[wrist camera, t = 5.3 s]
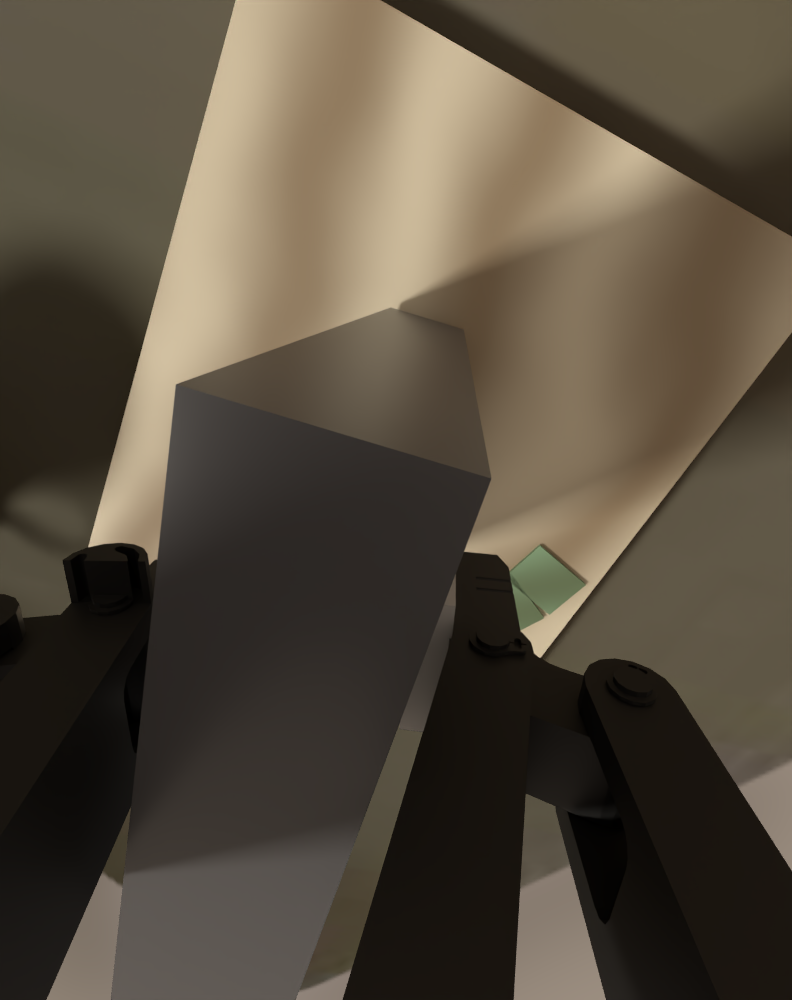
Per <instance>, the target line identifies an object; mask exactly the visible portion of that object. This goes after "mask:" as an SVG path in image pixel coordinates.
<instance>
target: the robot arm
mask: <svg viewBox="0 0 792 1000" xmlns="http://www.w3.org/2000/svg"><path fill="white" fill-rule="evenodd" d="M63 565H64V570H65V574H66V579H67V584H68V588H69V593H70V598H71V602H72V603H71V604H70V605H69V606H68V607H67V608H66V610H65V611H64V612H63V613H62V614H61V615H53V616H42V617H30V618H23V617H22V613H21V609H20V605H19V603H18V602H17V600H16V598H14V597H11V596H8V595H5V594H0V1000H46V999H47V997H48V995H49V992H50V990H51V988H52V986H53V983H54V981H55V979H56V976H57V974H58V972H59V969H60V967H61V965H62V963H63V960H64V958H65V956H66V953H67V951H68V949H69V947H70V944H71V942H72V940H73V937H74V935H75V933H76V930H77V928H78V926H79V924H80V921H81V919H82V917H83V915H84V912H85V910H86V907H87V905H88V903H89V901H90V899H91V896H92V894H93V892H94V889H95V887H96V885H97V883H98V880H99V878H100V876H101V873H102V871H103V869H104V867H105V864H106V862H107V860H108V857H109V855H110V853H111V851H112V848H113V846H114V844H115V841H116V839H117V837H118V835H119V832H120V830H121V828H122V825H123V823H124V821H125V819H126V816H127V814H128V812H129V809H130V807H131V804H132V794H133V785H134V775H135V766H136V756H137V747H138V738H139V728H140V719H141V709H142V700H143V690H144V681H145V671H146V662H147V652H148V643H149V634H150V624H151V615H152V605H153V596H154V586H155V577H156V567H157V560H156V559H155V560H154V561H153V562H152V563H151V564H150V565H149V560H148V554H147V552H146V551H145V549H144V548H142V547H140V546H137V545H135V544H128V543H109V544H101V545H97V546H92V547H88V548H85V549H83V550H80V551H77V552H75V553H73V554H71V555H70V556H68V557H67V558H65V559H64V560H63ZM400 729H403V730H411V731H419V732H423V734H422V737H421V741H420V744H419V747H418V751H417V754H416V757H415V761H414V764H413V767H412V771H411V774H410V777H409V781H408V784H407V787H406V791H405V794H404V797H403V801H402V804H401V807H400V811H399V814H398V817H397V821H396V824H395V827H394V831H393V834H392V837H391V841H390V844H389V847H388V851H387V854H386V857H385V860H384V864H383V867H382V870H381V874H380V877H379V880H378V884H377V887H376V890H375V894H374V897H373V900H372V904H371V907H370V910H369V914H368V917H367V920H366V924H365V927H364V930H363V934H362V937H361V940H360V944H359V947H358V950H357V954H356V957H355V960H354V964H353V967H352V970H351V974H350V977H349V981H348V984H347V987H346V990H345V994H344V997H343V1000H513V999H514V982H515V965H516V948H517V947H516V946H517V930H518V913H519V896H520V880H521V863H522V846H523V829H524V812H525V795H526V794H528V795H531V796H533V797H535V798H538V799H540V800H542V801H545V802H547V803H549V804H552V805H554V806H556V814H557V817H558V821H559V825H560V829H561V832H562V836H563V840H564V844H565V847H566V851H567V855H568V859H569V862H570V866H571V870H572V873H573V877H574V880H575V885H576V889H577V892H578V896H579V900H580V904H581V907H582V911H583V915H584V918H585V922H586V926H587V930H588V934H589V937H590V941H591V945H592V949H593V952H594V956H595V960H596V964H597V967H598V971H599V975H600V979H601V982H602V986H603V990H604V994H605V998H606V1000H792V871H791V869H790V868H789V866H788V864H787V863H786V861H785V860H784V858H783V857H782V855H781V853H780V852H779V850H778V849H777V847H776V846H775V844H774V843H773V841H772V840H771V838H770V836H769V835H768V833H767V832H766V830H765V829H764V827H763V825H762V824H761V822H760V821H759V819H758V818H757V816H756V815H755V813H754V811H753V810H752V808H751V807H750V805H749V804H748V802H747V801H746V799H745V797H744V796H743V794H742V793H741V791H740V790H739V788H738V786H737V785H736V783H735V782H734V780H733V779H732V777H731V776H730V774H729V772H728V771H727V769H726V768H725V766H724V765H723V763H722V762H721V760H720V758H719V757H718V755H717V754H716V752H715V751H714V749H713V748H712V746H711V744H710V743H709V741H708V740H707V738H706V737H705V735H704V734H703V732H702V730H701V729H700V727H699V726H698V724H697V723H696V721H695V720H694V718H693V716H692V715H691V713H690V712H689V710H688V709H687V707H686V705H685V704H684V702H683V701H682V699H681V698H680V696H679V695H678V693H677V691H676V690H675V689H674V688H673V687H672V686H671V685H670V684H669V683H668V681H667V680H666V679H665V678H663V677H662V676H660V675H659V674H657V673H656V672H654V671H653V670H651V669H649V668H647V667H644V666H642V665H639V664H637V663H634V662H631V661H626V660H620V659H602V660H598V661H596V662H594V663H592V664H590V665H589V666H588V668H587V670H586V671H585V673H584V676H583V675H580V674H577V673H574V672H571V671H568V670H565V669H562V668H559V667H557V666H554V665H552V664H549V663H548V662H546V661H544V660H543V659H541V658H539V657H538V656H537V655H535V654H534V651H533V647H532V643H531V642H530V640H529V639H528V638H527V637H526V636H525V635H524V634H523V633H522V632H521V630H520V625H519V620H518V614H517V609H516V604H515V598H514V594H513V588H512V583H511V577H510V572H509V567H508V566H507V565H506V564H505V563H504V562H503V561H502V559H501V558H500V557H499V556H498V555H494V554H483V553H473V552H464V553H463V556H462V559H461V561H460V564H459V566H458V569H457V572H456V574H455V577H454V580H453V582H452V585H451V588H450V590H449V593H448V596H447V598H446V601H445V604H444V606H443V609H442V612H441V614H440V617H439V620H438V622H437V625H436V628H435V630H434V633H433V636H432V638H431V641H430V644H429V646H428V649H427V652H426V654H425V657H424V660H423V662H422V665H421V668H420V670H419V673H418V676H417V678H416V681H415V683H414V686H413V689H412V691H411V694H410V697H409V699H408V702H407V705H406V707H405V710H404V713H403V715H402V718H401V721H400Z"/></svg>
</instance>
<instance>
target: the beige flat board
mask: <svg viewBox="0 0 792 1000" xmlns="http://www.w3.org/2000/svg"><path fill="white" fill-rule="evenodd" d="M388 308H394V309H398V310H401V311H404V312H408V313H411V314H414V315H418V316H421V317H424V318H427V319H431V320H434V321H437V322H441V323H444V324H447V325H451V326H454V327H457V328H461V329H464V334H465V339H466V345H467V350H468V355H469V361H470V366H471V371H472V377H473V382H474V387H475V393H476V398H477V403H478V409H479V414H480V420H481V425H482V430H483V436H484V441H485V446H486V452H487V457H488V462H489V468H490V473H491V478H492V479H491V481H490V484H489V487H488V489H487V492H486V495H485V497H484V500H483V503H482V505H481V508H480V511H479V513H478V516H477V519H476V521H475V524H474V527H473V529H472V532H471V535H470V537H469V540H468V543H467V545H466V548H465V551H464V552H473V553H483V554H494V555H498V556H499V557H500V558H501V559H502V561H503V562H504V563H505V564H506V565H507V566H508V567H509V572H510V577H511V583H512V588H513V594H514V598H515V604H516V609H517V614H518V620H519V625H520V630H521V632H522V633H523V634H524V635H525V636H526V637H527V638H528V639H529V640H530V642H531V643H532V647H533V651H534V654H535V655H537V656H538V657H539V658H541V657H542V655H543V654H544V653H545V651H546V650H547V649H548V647H549V646H550V645H551V644H552V642H553V641H554V640H555V638H556V637H557V636H558V635H559V633H560V632H561V631H562V629H563V628H564V627H565V625H566V624H567V623H568V622H569V620H570V619H571V618H572V616H573V615H574V614H575V612H576V611H577V610H578V609H579V607H580V606H581V605H582V603H583V602H584V601H585V600H586V598H587V597H588V596H589V594H590V593H591V592H592V590H593V589H594V588H595V587H596V585H597V584H598V583H599V581H600V580H601V579H602V578H603V576H604V575H605V574H606V572H607V571H608V570H609V568H610V567H611V566H612V565H613V563H614V562H615V561H616V559H617V558H618V557H619V555H620V554H621V553H622V552H623V550H624V549H625V548H626V546H627V545H628V544H629V543H630V541H631V540H632V539H633V537H634V536H635V535H636V533H637V532H638V531H639V530H640V528H641V527H642V526H643V524H644V523H645V522H646V521H647V519H648V518H649V517H650V515H651V514H652V513H653V511H654V510H655V509H656V508H657V506H658V505H659V504H660V502H661V501H662V500H663V499H664V497H665V496H666V495H667V493H668V492H669V491H670V489H671V488H672V487H673V486H674V484H675V483H676V482H677V480H678V479H679V478H680V476H681V475H682V474H683V473H684V471H685V470H686V469H687V467H688V466H689V465H690V464H691V462H692V461H693V460H694V458H695V457H696V456H697V454H698V453H699V452H700V451H701V449H702V448H703V447H704V445H705V444H706V443H707V442H708V440H709V439H710V438H711V436H712V435H713V434H714V432H715V431H716V430H717V429H718V427H719V426H720V425H721V423H722V422H723V421H724V419H725V418H726V417H727V416H728V414H729V413H730V412H731V410H732V409H733V408H734V407H735V405H736V404H737V403H738V401H739V400H740V399H741V397H742V396H743V395H744V394H745V392H746V391H747V390H748V388H749V387H750V386H751V385H752V383H753V382H754V381H755V379H756V378H757V377H758V375H759V374H760V373H761V372H762V370H763V369H764V368H765V366H766V365H767V364H768V363H769V361H770V360H771V359H772V357H773V356H774V355H775V353H776V352H777V351H778V350H779V348H780V347H781V346H782V344H783V343H784V342H785V340H786V339H787V338H788V337H789V335H790V334H791V333H792V237H791V236H790V235H788V234H786V233H784V232H783V231H781V230H779V229H777V228H776V227H774V226H772V225H770V224H769V223H767V222H765V221H763V220H762V219H760V218H758V217H757V216H755V215H753V214H751V213H750V212H748V211H746V210H744V209H743V208H741V207H739V206H737V205H736V204H734V203H732V202H730V201H729V200H727V199H725V198H723V197H722V196H720V195H718V194H717V193H715V192H713V191H711V190H710V189H708V188H706V187H704V186H703V185H701V184H699V183H697V182H696V181H694V180H692V179H690V178H689V177H687V176H685V175H683V174H682V173H680V172H678V171H677V170H675V169H673V168H671V167H670V166H668V165H666V164H664V163H663V162H661V161H659V160H657V159H656V158H654V157H652V156H650V155H649V154H647V153H645V152H643V151H642V150H640V149H638V148H637V147H635V146H633V145H631V144H630V143H628V142H626V141H624V140H623V139H621V138H619V137H617V136H616V135H614V134H612V133H610V132H609V131H607V130H605V129H603V128H602V127H600V126H598V125H597V124H595V123H593V122H591V121H590V120H588V119H586V118H584V117H583V116H581V115H579V114H577V113H576V112H574V111H572V110H570V109H569V108H567V107H565V106H563V105H562V104H560V103H558V102H557V101H555V100H553V99H551V98H550V97H548V96H546V95H544V94H543V93H541V92H539V91H537V90H536V89H534V88H532V87H530V86H529V85H527V84H525V83H523V82H522V81H520V80H518V79H517V78H515V77H513V76H511V75H510V74H508V73H506V72H504V71H503V70H501V69H499V68H497V67H496V66H494V65H492V64H490V63H489V62H487V61H485V60H483V59H482V58H480V57H478V56H477V55H475V54H473V53H471V52H470V51H468V50H466V49H464V48H463V47H461V46H459V45H457V44H456V43H454V42H452V41H450V40H449V39H447V38H445V37H443V36H442V35H440V34H438V33H437V32H435V31H433V30H431V29H430V28H428V27H426V26H424V25H423V24H421V23H419V22H417V21H416V20H414V19H412V18H410V17H409V16H407V15H405V14H403V13H402V12H400V11H398V10H397V9H395V8H393V7H391V6H390V5H388V4H386V3H384V2H383V1H381V0H236V2H235V5H234V9H233V13H232V17H231V20H230V24H229V28H228V31H227V35H226V39H225V43H224V46H223V50H222V54H221V57H220V61H219V65H218V68H217V72H216V76H215V80H214V83H213V87H212V91H211V94H210V98H209V102H208V106H207V109H206V113H205V117H204V120H203V124H202V128H201V131H200V135H199V139H198V143H197V146H196V150H195V154H194V157H193V161H192V165H191V169H190V172H189V176H188V180H187V183H186V187H185V191H184V194H183V198H182V202H181V206H180V209H179V213H178V217H177V220H176V224H175V228H174V231H173V235H172V239H171V243H170V246H169V250H168V254H167V257H166V261H165V265H164V269H163V272H162V276H161V280H160V283H159V287H158V291H157V294H156V298H155V302H154V306H153V309H152V313H151V317H150V320H149V324H148V328H147V332H146V335H145V339H144V343H143V346H142V350H141V354H140V357H139V361H138V365H137V369H136V372H135V376H134V380H133V383H132V387H131V391H130V395H129V398H128V402H127V406H126V409H125V413H124V417H123V420H122V424H121V428H120V432H119V435H118V439H117V443H116V446H115V450H114V454H113V458H112V461H111V465H110V469H109V472H108V476H107V480H106V483H105V487H104V491H103V495H102V498H101V502H100V506H99V509H98V513H97V517H96V521H95V524H94V528H93V532H92V535H91V539H90V543H89V546H88V547H92V546H97V545H101V544H109V543H128V544H135V545H137V546H140V547H142V548H144V549H145V551H146V552H147V554H148V560H149V565H150V564H151V563H152V562H153V561H154V560H155V559H156V560H157V558H158V548H159V539H160V530H161V520H162V511H163V501H164V492H165V482H166V473H167V463H168V454H169V444H170V435H171V425H172V416H173V407H174V397H175V388H176V384H178V383H181V382H184V381H186V380H189V379H192V378H195V377H198V376H200V375H203V374H206V373H209V372H212V371H214V370H217V369H220V368H223V367H226V366H228V365H231V364H234V363H237V362H240V361H242V360H245V359H248V358H251V357H254V356H256V355H259V354H262V353H265V352H268V351H270V350H273V349H276V348H279V347H281V346H284V345H287V344H290V343H293V342H295V341H298V340H301V339H304V338H307V337H309V336H312V335H315V334H318V333H321V332H323V331H326V330H329V329H332V328H335V327H337V326H340V325H343V324H346V323H349V322H351V321H354V320H357V319H360V318H363V317H365V316H368V315H371V314H374V313H377V312H379V311H382V310H385V309H388Z"/></svg>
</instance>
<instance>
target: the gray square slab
mask: <svg viewBox="0 0 792 1000" xmlns="http://www.w3.org/2000/svg"><path fill="white" fill-rule="evenodd" d="M491 479H492V478H491V473H490V468H489V462H488V457H487V452H486V446H485V441H484V436H483V430H482V425H481V420H480V414H479V409H478V403H477V398H476V393H475V387H474V382H473V377H472V371H471V366H470V361H469V355H468V350H467V345H466V339H465V334H464V329H461V328H457V327H454V326H451V325H447V324H444V323H441V322H437V321H434V320H431V319H427V318H424V317H421V316H418V315H414V314H411V313H408V312H404V311H401V310H398V309H394V308H388V309H385V310H382V311H379V312H377V313H374V314H371V315H368V316H365V317H363V318H360V319H357V320H354V321H351V322H349V323H346V324H343V325H340V326H337V327H335V328H332V329H329V330H326V331H323V332H321V333H318V334H315V335H312V336H309V337H307V338H304V339H301V340H298V341H295V342H293V343H290V344H287V345H284V346H281V347H279V348H276V349H273V350H270V351H268V352H265V353H262V354H259V355H256V356H254V357H251V358H248V359H245V360H242V361H240V362H237V363H234V364H231V365H228V366H226V367H223V368H220V369H217V370H214V371H212V372H209V373H206V374H203V375H200V376H198V377H195V378H192V379H189V380H186V381H184V382H181V383H178V384H176V388H175V397H174V407H173V416H172V425H171V435H170V444H169V454H168V463H167V473H166V482H165V492H164V501H163V511H162V520H161V530H160V539H159V548H158V558H157V567H156V577H155V586H154V596H153V605H152V615H151V624H150V634H149V643H148V652H147V662H146V671H145V681H144V690H143V700H142V709H141V719H140V728H139V738H138V747H137V756H136V766H135V775H134V785H133V794H132V804H131V813H130V823H129V832H128V842H127V851H126V860H125V870H124V879H123V889H122V898H121V908H120V917H119V927H118V936H117V946H116V956H115V965H114V975H113V983H112V993H111V1000H296V997H297V995H298V992H299V989H300V987H301V984H302V981H303V979H304V976H305V973H306V971H307V968H308V965H309V963H310V960H311V957H312V955H313V952H314V949H315V947H316V944H317V941H318V939H319V936H320V933H321V931H322V928H323V925H324V923H325V920H326V918H327V915H328V912H329V910H330V907H331V904H332V902H333V899H334V896H335V894H336V891H337V888H338V886H339V883H340V880H341V878H342V875H343V872H344V870H345V867H346V864H347V862H348V859H349V856H350V854H351V851H352V848H353V846H354V843H355V840H356V838H357V835H358V832H359V830H360V827H361V824H362V822H363V819H364V816H365V814H366V811H367V808H368V806H369V803H370V801H371V798H372V795H373V793H374V790H375V787H376V785H377V782H378V779H379V777H380V774H381V771H382V769H383V766H384V763H385V761H386V758H387V755H388V753H389V750H390V747H391V745H392V742H393V739H394V737H395V734H396V731H397V729H398V726H399V723H400V721H401V718H402V715H403V713H404V710H405V707H406V705H407V702H408V699H409V697H410V694H411V691H412V689H413V686H414V683H415V681H416V678H417V676H418V673H419V670H420V668H421V665H422V662H423V660H424V657H425V654H426V652H427V649H428V646H429V644H430V641H431V638H432V636H433V633H434V630H435V628H436V625H437V622H438V620H439V617H440V614H441V612H442V609H443V606H444V604H445V601H446V598H447V596H448V593H449V590H450V588H451V585H452V582H453V580H454V577H455V574H456V572H457V569H458V566H459V564H460V561H461V559H462V556H463V553H464V551H465V548H466V545H467V543H468V540H469V537H470V535H471V532H472V529H473V527H474V524H475V521H476V519H477V516H478V513H479V511H480V508H481V505H482V503H483V500H484V497H485V495H486V492H487V489H488V487H489V484H490V481H491Z"/></svg>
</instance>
